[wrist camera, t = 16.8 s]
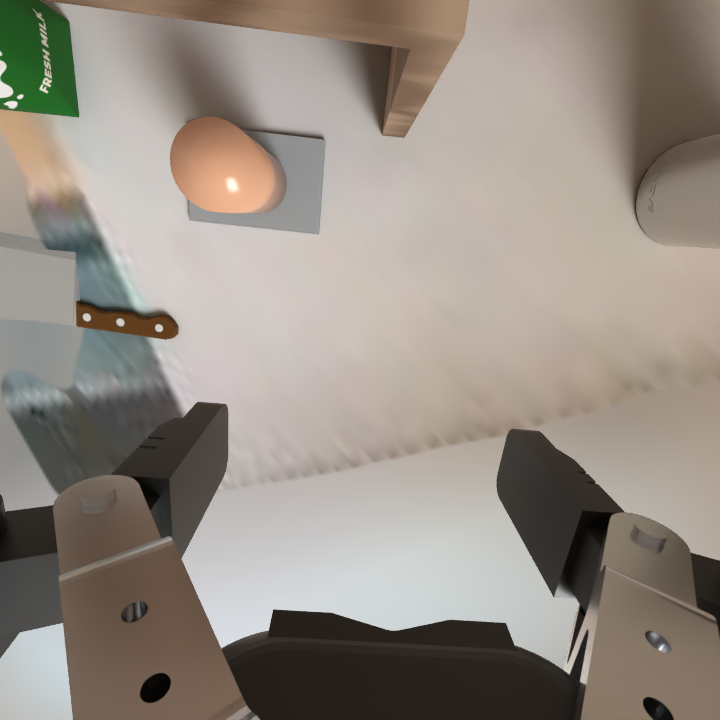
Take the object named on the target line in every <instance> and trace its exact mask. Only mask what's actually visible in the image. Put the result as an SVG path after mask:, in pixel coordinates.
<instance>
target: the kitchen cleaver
mask: <svg viewBox="0 0 720 720" xmlns="http://www.w3.org/2000/svg"><path fill="white" fill-rule="evenodd" d="M0 319H10V320H31V321H40V322H48V323H57V324H65V325H76V326H78V327H84V328H91V329H98V330H105V331H111V332H118V333H125V334H132V335H139V336H146V337H152V338H159V339H171V338H174V337H175V336H176V335H177V334H178V325H177V323H176V322H175V321H174V320H173V319H172V318H171V317H170V316H168V315H161V314H160V315H157V316H154V317H144V316H141V315H139V314H137V313H131V312H124V311H103V310H101V309H99V308H97V307H95V306H94V305H87V304H83V303H82V302H81V301H80V293H79V284H78V275H77V265H76V252H66V251H56V250H46V247H45V246H44V244H43V242H42V240H41V239H36V238H30V237H25V236H19V235H14V234H8V233H3V232H0Z"/></svg>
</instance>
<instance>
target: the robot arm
mask: <svg viewBox="0 0 720 720" xmlns="http://www.w3.org/2000/svg"><path fill="white" fill-rule="evenodd" d="M636 213H637V217H638V222H639V224H640V226H641V228H642V230H643V231H644V232H645V233H646V235H647V236H648V237H649V238H651V239H652V240H654V241H655V242H657V243H660V244H663V245H669V246H683V247H701V248H717V249H720V133H719V134H715V135H711V136H707V137H703V138H700V139H696V140H692V141H688V142H685V143H682V144H679V145H676V146H675V147H673V148H671V149H669V150H668V151H666V152H665V153H664V154H662V155H661V156H660V157H659V158H658V159H657V160H656V161H655V162H654V163H653V164H652V165H651V167H650V168H649V169H648V171H647V173H646V174H645V176H644V177H643V179H642V182H641V184H640V187H639V190H638V195H637V200H636ZM227 461H228V408H227V405H226V404H218V403H206V402H197V403H196V404H195V405H194V406H193V407H192V409H191V410H190V411H189V412H188V413H187V414H186V415H185V416H184V418H173V419H171V420H169V421H168V422H166V423H164V424H162V425H160V426H158V427H157V428H156V429H155V430H154V431H153V432H152V433H151V434H150V435H149V436H148V439H145V440H144V441H143V442H142V443H141V445H140V446H139V448H137V449H136V450H135V451H134V452H133V453H132V454H131V455H130V456H129V457H128V458H127V459H126V460H125V461H124V462H123V463H122V464H121V465H120V466H119V467H118V468H117V469H116V470H115V471H114V472H113V473H112V474H111V475H105V476H99V477H94V478H90V479H87V480H84V481H81V482H79V483H77V484H75V485H73V486H71V487H69V488H68V489H66V490H65V491H64V492H62V493H61V494H60V495H59V496H58V497H57V499H56V500H55V502H54V505H52V506H46V507H39V508H30V509H23V510H15V511H7V512H5V508H4V503H3V498H2V496H1V495H0V658H1V656H2V655H3V654H4V652H5V651H6V650H7V648H8V647H9V646H10V645H11V643H12V642H13V641H14V639H15V638H16V637H17V635H18V634H19V632H23V631H28V630H32V629H37V628H41V627H46V626H50V625H55V624H60V623H63V625H64V636H65V645H66V655H67V665H68V674H69V684H70V694H71V704H72V713H73V720H720V561H718V560H715V559H711V558H708V557H704V556H701V555H696V554H693V553H691V552H690V549H689V547H688V545H687V544H686V543H685V542H684V540H683V539H682V538H680V537H679V536H678V535H677V534H676V533H675V532H673V531H672V530H670V529H669V528H667V527H666V526H664V525H662V524H660V523H658V522H656V521H654V520H652V519H650V518H647V517H644V516H641V515H637V514H633V513H626V512H624V511H623V510H622V509H621V508H620V507H619V506H618V504H617V503H615V501H614V500H613V499H612V498H611V497H610V496H609V495H608V494H607V493H606V492H605V491H604V490H603V489H602V488H601V487H600V486H599V485H598V484H595V481H594V480H593V479H592V478H591V477H590V476H589V475H588V474H586V471H585V470H584V469H583V468H582V467H581V466H580V465H579V464H578V463H577V462H576V461H575V460H574V459H572V458H570V457H569V456H567V455H566V454H564V453H562V452H561V451H559V450H558V449H556V448H555V447H554V446H553V445H552V444H551V442H550V441H549V440H548V439H547V438H546V437H545V436H544V435H543V434H542V433H541V432H540V431H533V430H521V429H511V430H510V431H509V433H508V435H507V438H506V442H505V446H504V450H503V454H502V458H501V462H500V467H499V471H498V475H497V492H498V496H499V498H500V500H501V502H502V504H503V506H504V508H505V509H506V511H507V513H508V515H509V517H510V518H511V520H512V522H513V524H514V526H515V528H516V529H517V531H518V533H519V534H520V536H521V538H522V540H523V542H524V544H525V546H526V548H527V549H528V551H529V553H530V555H531V556H532V558H533V560H534V562H535V564H536V566H537V567H538V569H539V571H540V573H541V575H542V576H543V578H544V580H545V582H546V584H547V586H548V587H549V589H550V591H551V593H552V595H553V597H558V598H573V599H577V600H578V602H579V603H580V604H579V607H578V610H577V612H576V615H575V619H574V624H573V628H572V632H571V636H570V640H569V645H568V649H567V653H566V658H565V662H564V666H563V669H561V668H559V667H558V666H556V665H555V664H553V663H552V662H550V661H548V660H546V659H545V658H543V657H541V656H539V655H537V654H535V653H533V652H530V651H528V650H525V649H523V648H521V647H518V646H514V643H513V641H512V638H511V636H510V633H509V630H508V628H507V625H506V623H493V622H478V621H461V620H460V621H459V620H447V621H442V622H437V623H433V624H428V625H423V626H418V627H413V628H409V629H404V630H399V631H390V630H385V629H382V628H379V627H376V626H372V625H369V624H366V623H363V622H359V621H356V620H352V619H350V618H346V617H343V616H340V615H336V614H333V613H323V612H306V611H288V610H273V614H272V619H271V623H270V628H269V631H265V632H260V633H257V634H254V635H250V636H247V637H244V638H242V639H240V640H237V641H235V642H233V643H231V644H229V645H227V646H225V647H223V648H222V649H221V647H220V645H219V643H218V641H217V638H216V636H215V634H214V631H213V629H212V627H211V625H210V622H209V620H208V618H207V616H206V613H205V611H204V609H203V607H202V605H201V602H200V600H199V598H198V596H197V594H196V591H195V589H194V586H193V584H192V582H191V580H190V578H189V575H188V573H187V571H186V569H185V566H184V564H183V562H182V560H181V558H182V556H183V554H184V553H185V551H186V549H187V547H188V545H189V543H190V541H191V539H192V537H193V535H194V533H195V531H196V529H197V527H198V525H199V523H200V521H201V520H202V518H203V515H204V514H205V512H206V510H207V508H208V506H209V504H210V502H211V500H212V498H213V496H214V494H215V492H216V490H217V488H218V487H219V485H220V483H221V481H222V479H223V477H224V474H225V471H226V467H227Z"/></svg>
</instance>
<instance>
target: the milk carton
mask: <svg viewBox="0 0 720 720" xmlns="http://www.w3.org/2000/svg"><path fill="white" fill-rule="evenodd" d="M0 109H4V110H13V111H23V112H33V113H42V114H52V115H62V116H71V117H79V112H78V102H77V93H76V83H75V74H74V64H73V55H72V46H71V36H70V27H69V21H68V20H66V19H65V18H63V17H62V16H61V15H59V14H58V13H56V12H55V11H54V10H52V9H51V8H50V7H48V6H47V5H45V4H44V3H43V2H41V1H40V0H0Z"/></svg>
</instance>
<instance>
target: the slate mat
mask: <svg viewBox="0 0 720 720" xmlns="http://www.w3.org/2000/svg"><path fill="white" fill-rule="evenodd" d="M242 131H243V132H244V133H245V134H247V135H248V136H249V137H250V138H252V139H253V140H254V141H255V142H257V143H258V144H259V145H260V146H262V147H263V148H264V149H265V150H267V151H268V152H269V153H271V154H272V155H273V156H274V157H275V158H276V159H277V160H278V161H279V162H280V164H281V165H282V167H283V169H284V172H285V175H286V181H287V188H286V193H285V196H284V198H283V200H282V202H281V203H280V204H279V205H278V206H277V207H276V208H275V209H273V210H272V211H270V212H267V213H262V214H253V213H222V212H211V211H207V210H205V209H202V208H200V207H198V206H196V205H195V204H193V203H192V202H191V201H190V200H189V220H190V221H199V222H209V223H218V224H227V225H237V226H246V227H255V228H265V229H274V230H283V231H293V232H302V233H312V234H319V228H320V213H321V198H322V183H323V168H324V154H325V140H323V139H314V138H306V137H298V136H289V135H281V134H272V133H264V132H256V131H247V130H242Z"/></svg>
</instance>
